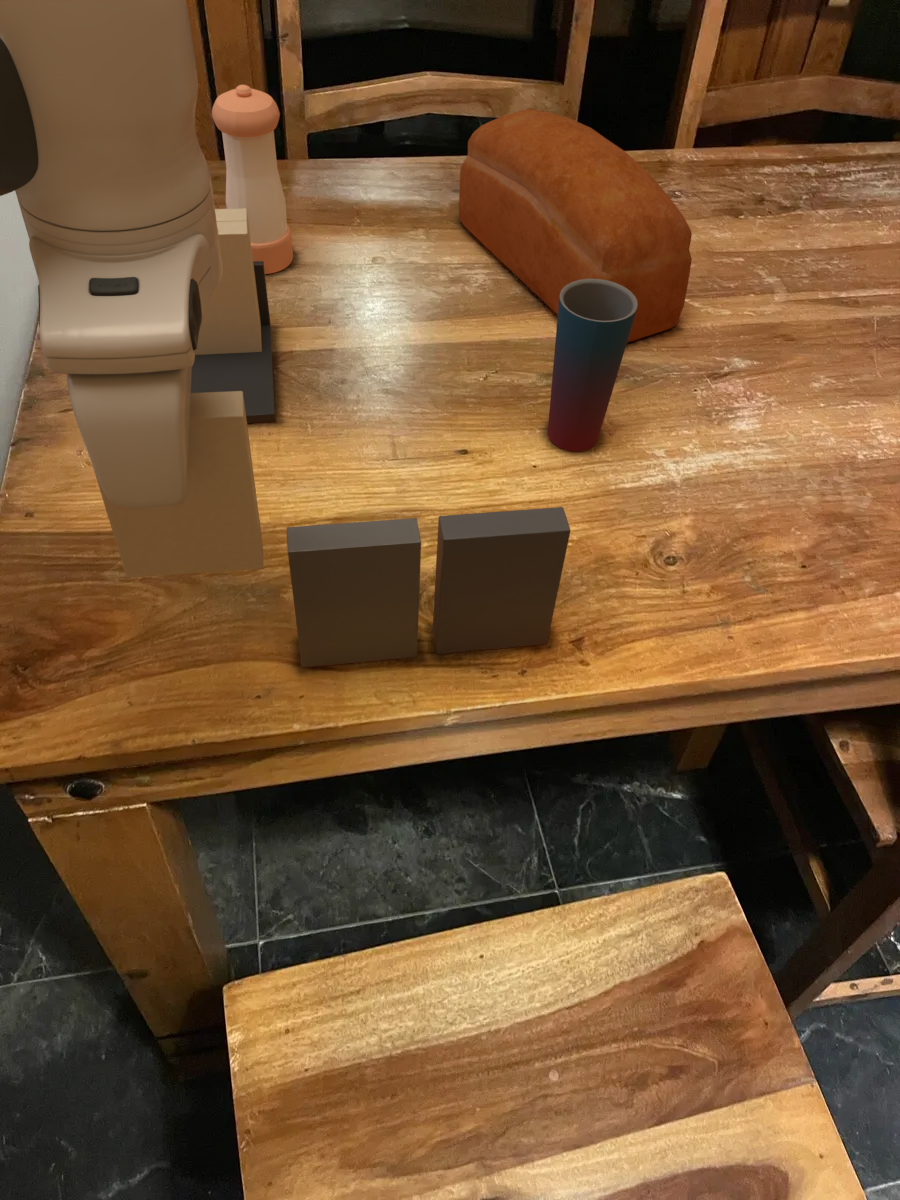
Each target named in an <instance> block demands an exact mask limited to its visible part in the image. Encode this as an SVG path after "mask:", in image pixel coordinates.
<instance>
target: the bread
mask: <svg viewBox="0 0 900 1200" xmlns="http://www.w3.org/2000/svg"><path fill="white" fill-rule="evenodd" d="M458 193H459V194H458V196H459V197H458V218H459V220H460V222H461V224H462V225H463V227H465V228H466V230H467V231H469V232H470V233H471V234H472V235H473V236H474V237H475V238H476V239H477V240H478V241H479V242H480V243H481V244H482V245H483V246H484V247H486V249H487V250H488V251H489V252H491V253H492V255H494V256H495V258H497V259H498V260H499V261H500V262H501V263H502V264H503V265H504V266H506V268H508V269H509V271H511V272H512V273H513V274H514V275H515V276H516V277H517V278H518V279H519V280H520V281H521V282H522V283H523V284H525V285H526V286H527V287H528V289H530V290H531V291H532V292H533V294H535V295H536V296H537V297H538V298H539V299H540V300H541V301H542V302H543V303H544V304H545V305H546V306H548V307H549V309H551V310H552V312H554V313H555V314H556V315H557V316H558V306H559V295H560V292H561V290H562V289H563V288H564V287H565V286H566V285H567V284H569V283H571V282H574V281H577V280H582V279H602V280H607V281H611V282H614V283H617V284H619V285H622V286H623V287H625V288H627V289H628V290H629V291H631V292H632V293H633V294H634V296H635V297H636V299H637V303H638V307H637V311H636V314H635V317H634V321H633V324H632V328H631V331H630V334H629V338H628V341H627V343H629V342H634V341H636V340H637V341H638V340H639V339H644V338H646V337H649V336H652V335H655V334H657V333H661V332H663V331H667V330H669V329H671V328H673V327H675V326H677V324H678V322H679V319H680V316H681V314H682V311H683V309H684V306H685V302H686V297H687V291H688V285H689V280H690V274H691V267H692V260H693V259H692V255H691V251H690V248H691V241H692V235H693V233H692V229H691V227H690V225H689V224H688V222H687V221H686V218H685V217H684V215H683V214H682V212H681V211H680V209H679V208H678V206H677V205H676V204H675V202H674V201H673V200H672V199H671V197H670V196H669V195H668V194H667V193H666V192H665V190H664V189H663V188H662V186H661V185H660V184H659V183H658V181H657V180H656V179H655V178H654V177H653V176H652V175H651V174H650V173H648V171H646V170H645V168H643V167H642V166H641V165H640V164H639V163H638V162H637V161H636V160H635V159H634V157H632V156H631V155H630V154H628V153H627V152H626V151H625V150H624V149H622V148H621V147H619V146H618V145H617V144H615V143H613V142H612V141H610V140H609V139H607V138H606V137H604V136H603V135H601V134H600V133H599V132H598V131H596V130H594V129H593V128H592V127H590V126H588V125H585V124H583V123H581V122H579V121H577V120H574V119H572V118H570V117H566V116H563V115H560V114H556V113H553V112H549V111H545V110H539V109H533V108H526V109H523V110H518V111H515V112H511V113H508V114H505V115H501V116H499V117H497V118H495V119H492V120H490V121H488V122H487V123H484V124H482V125H480V126H479V127H478V128H477V129H475V130H474V131H473V133H472V134H471V136H470V137H469V139H468V140H467V156H466V157H465V159H464V161H463V163H462V164H461V166H460V170H459V192H458Z"/></svg>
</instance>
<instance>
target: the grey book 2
mask: <svg viewBox="0 0 900 1200" xmlns="http://www.w3.org/2000/svg"><path fill="white" fill-rule="evenodd" d="M437 520H438V521H437V522H438V523H437V539H436V540H437V541H436V559H435V575H434V577H435V578H434V595H433V596H434V597H433V612H432V613H433V615H432V631H431V632H432V637H433V644H434V648H435V649H434V650H435V653H436V655H444V654H457V653H466V652H477V651H488V650H489V651H490V650H498V649H499V650H500V649H508V648H509V649H510V648H522V647H531V646H532V647H533V646H541V645H543V646H544V645H547V644H548V641H549V636H550V631H551V627H552V621H553V618H554V613H555V607H556V603H557V598H558V594H559V589H560V583H561V578H562V574H563V568H564V564H565V559H566V554H567V549H568V545H569V540H570V536H571V527H570V525H569V520H568V518H567V515H566V512H565V509H564V507H563V506H558V507H557V506H555V507H545V508H544V507H543V508H530V509H528V508H527V509H517V510H515V509H514V510H502V511H501V510H500V511H490V512H474V513H473V512H472V513H461V514H447V515H446V514H445V515H439V516H438V519H437Z"/></svg>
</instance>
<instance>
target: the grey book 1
mask: <svg viewBox="0 0 900 1200" xmlns="http://www.w3.org/2000/svg"><path fill="white" fill-rule="evenodd" d="M286 544H287V545H286V547H287V558H288V566H289V574H290V583H291V590H292V598H293V599H292V600H293V607H294V616H295V623H296V631H297V641H298V647H299V648H298V649H299V656H300V664H301V668H313V667H323V666H337V665H345V664H357V663H367V662H379V661H390V660H400V659H411V658H418V640H419V613H420V611H419V610H420V589H421V587H420V585H421V584H420V583H421V559H422V556H421V555H422V539H421V535H420V528H419V524H418V519H417V517H411V518H398V519H397V518H396V519H381V520H369V521H356V522H343V523H341V522H340V523H329V524H328V523H327V524H313V525H300V526H286Z"/></svg>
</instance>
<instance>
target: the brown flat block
mask: <svg viewBox="0 0 900 1200" xmlns="http://www.w3.org/2000/svg"><path fill="white" fill-rule="evenodd" d="M251 451H252V450H251V444H250V435H249V428H248V423H247V419H246V411H245V404H244V396H243V392H242V391H231V392H206V393H191V397H190V420H189V442H188V465H187V495H186V500H185V502H184V503H183V504H182V505H180V506H178V507H173V508H162V509H151V510H123V509H120V508H118V507H116V506H115V505H113V504H112V503H111V502H110V501H109V500H108V499H107V497H106V495H105V494H104V492H103V490H102V487H101V485H100V482H99V480H98V477H97V475H96V472H95V470H94V467H93V466H92V468H93V471H94V474H95V478H96V481H97V484H98V489H99V492H100V495H101V498H102V502H103V505H104V508H105V512H106V515H107V518H108V522H109V525H110V529H111V531H112V534H113V538H114V542H115V545H116V549H117V551H118V555H119V558H120V561H121V565H122V568H123V571H124V575H125V578H126V579H134V578H146V577H149V578H150V577H161V576H177V575H193V574H207V573H208V574H209V573H220V572H221V573H222V572H237V571H251V570H263V569H264V544H263V535H262V528H261V520H260V512H259V506H258V504H259V503H258V497H257V496H258V495H257V490H256V482H255V474H254V467H253V465H254V464H253V460H252V459H253V458H252V452H251Z"/></svg>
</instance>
